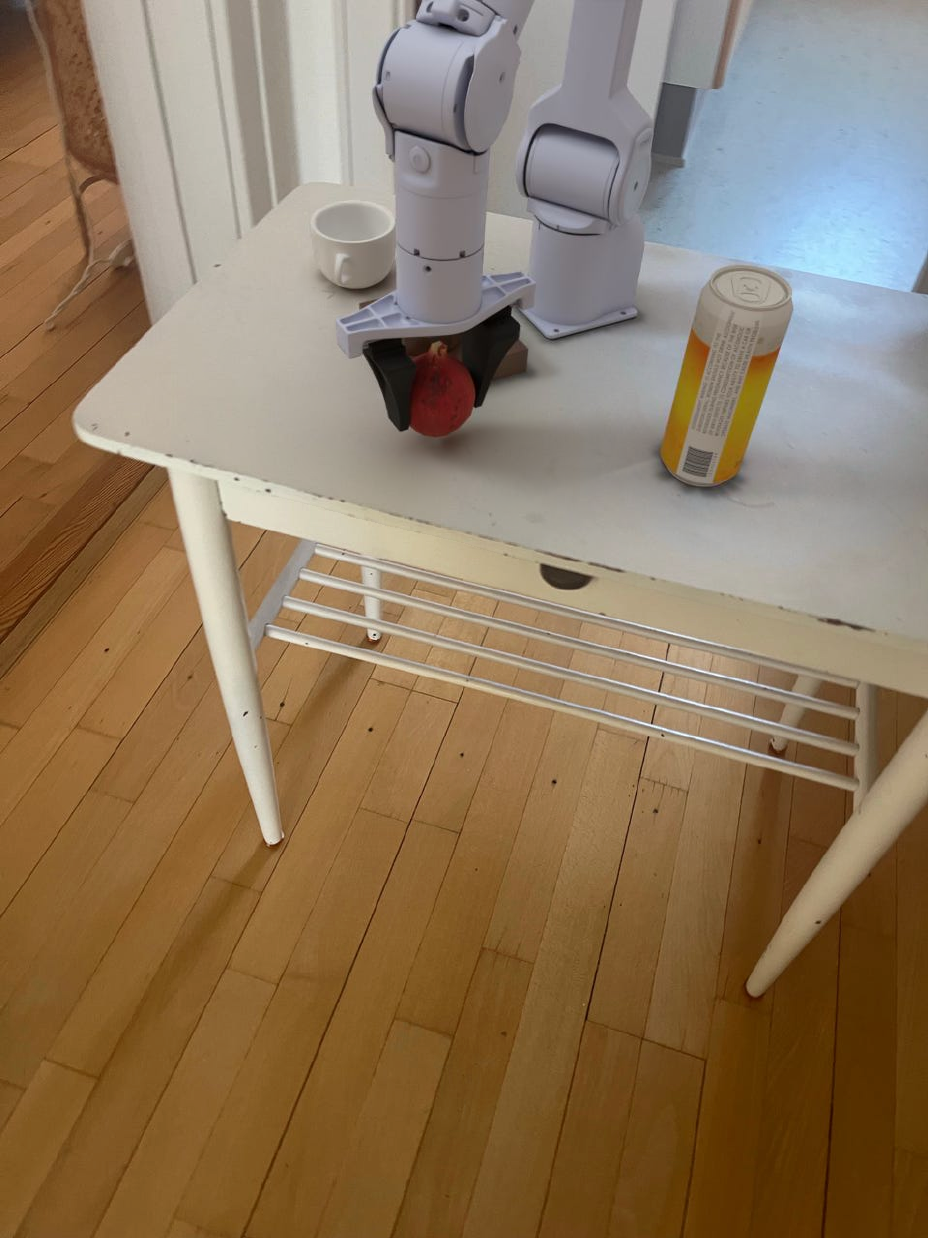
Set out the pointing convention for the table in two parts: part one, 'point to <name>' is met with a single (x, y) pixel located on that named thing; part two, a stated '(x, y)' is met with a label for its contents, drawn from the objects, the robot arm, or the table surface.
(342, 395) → the table surface
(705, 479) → the beer can
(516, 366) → the button box
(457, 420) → the red fruit
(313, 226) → the teacup
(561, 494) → the table surface
